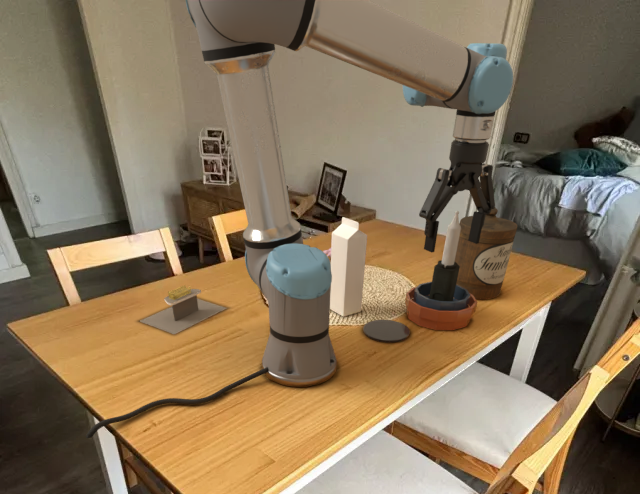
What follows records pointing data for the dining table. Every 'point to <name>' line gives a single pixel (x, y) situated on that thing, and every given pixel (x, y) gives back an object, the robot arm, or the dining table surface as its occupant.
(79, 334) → the dining table surface
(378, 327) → the slate coaster
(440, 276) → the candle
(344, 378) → the dining table surface
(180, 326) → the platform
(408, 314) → the stacked bowls
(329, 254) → the rabbit figure
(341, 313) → the milk
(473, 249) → the wooden container
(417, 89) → the robot arm
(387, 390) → the dining table surface
